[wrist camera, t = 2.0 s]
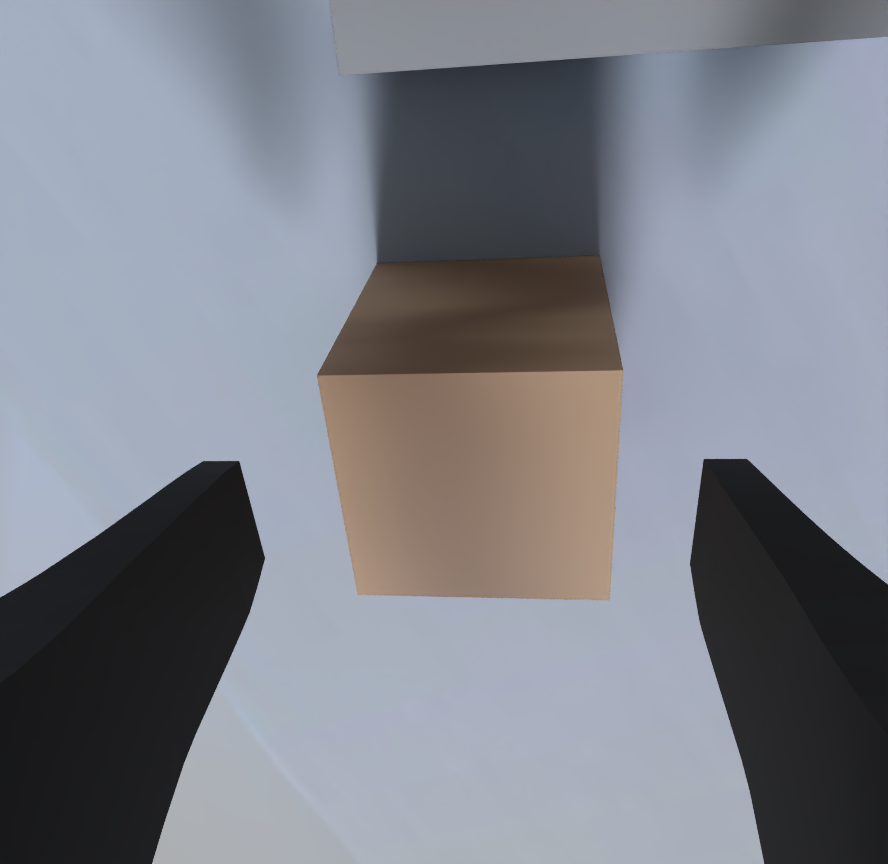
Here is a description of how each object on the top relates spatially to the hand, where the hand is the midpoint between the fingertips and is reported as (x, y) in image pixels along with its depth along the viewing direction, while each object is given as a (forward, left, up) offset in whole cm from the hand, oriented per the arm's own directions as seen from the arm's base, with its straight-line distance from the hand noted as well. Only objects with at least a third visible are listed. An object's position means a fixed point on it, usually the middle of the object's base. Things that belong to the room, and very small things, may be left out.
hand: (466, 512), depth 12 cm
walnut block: (0, 0, -5) cm, 5 cm away
